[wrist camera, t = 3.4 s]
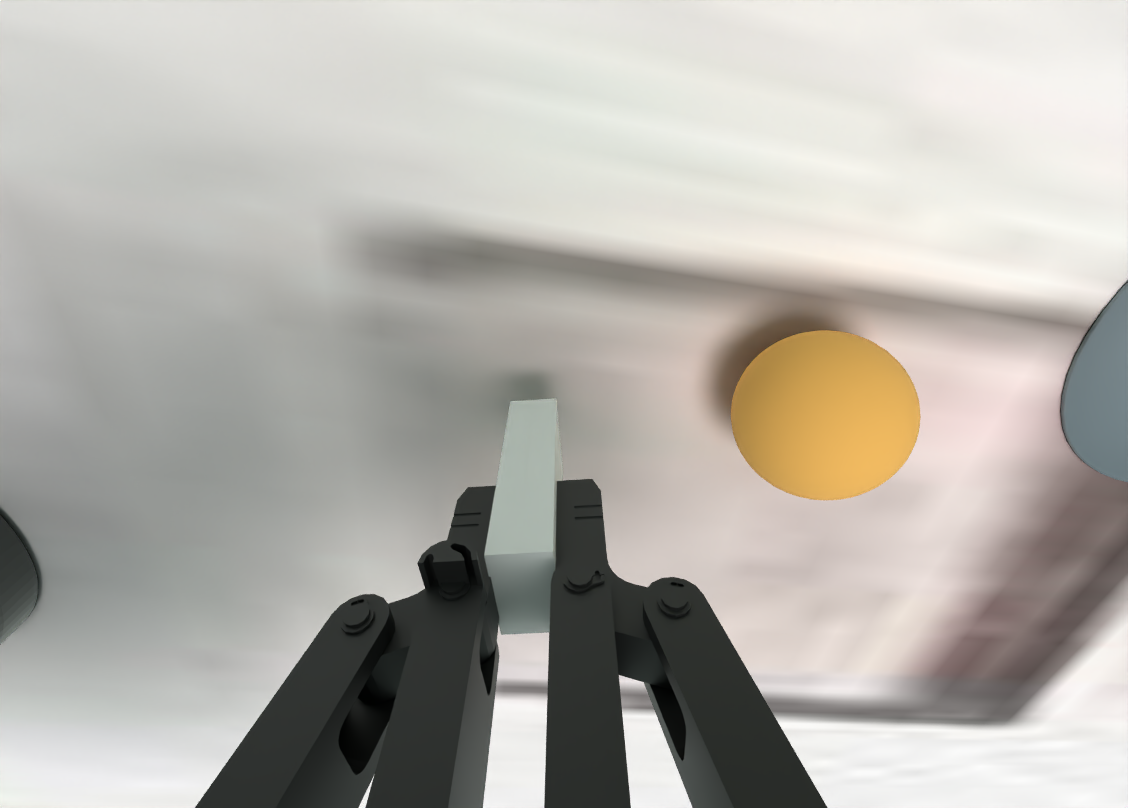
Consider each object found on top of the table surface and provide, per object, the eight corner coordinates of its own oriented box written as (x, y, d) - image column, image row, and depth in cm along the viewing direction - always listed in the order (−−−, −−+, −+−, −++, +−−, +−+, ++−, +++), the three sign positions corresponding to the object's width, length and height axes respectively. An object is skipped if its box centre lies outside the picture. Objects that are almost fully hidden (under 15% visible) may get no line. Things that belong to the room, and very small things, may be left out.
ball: (726, 452, 21) (775, 555, 17) (699, 334, 19) (748, 417, 14) (866, 413, 20) (960, 510, 16) (859, 283, 18) (969, 354, 13)
